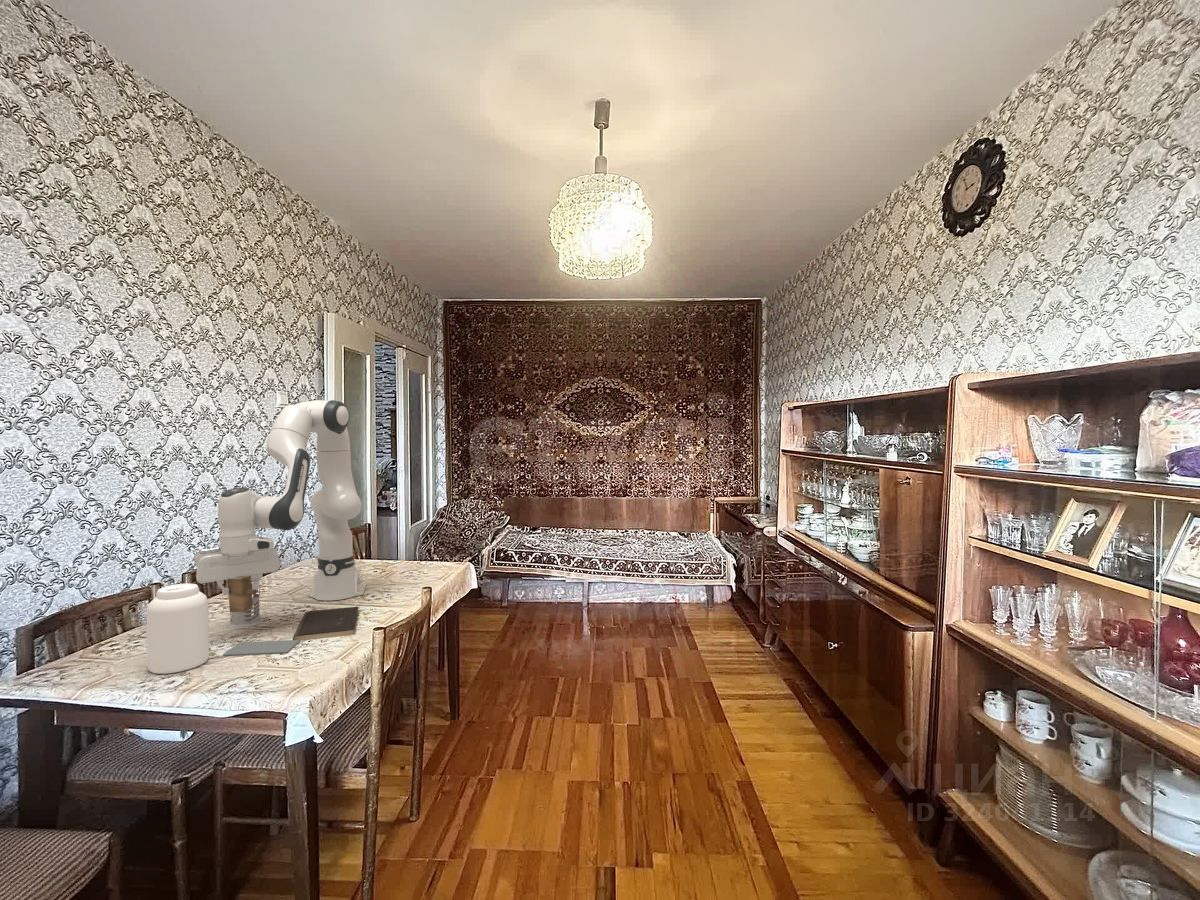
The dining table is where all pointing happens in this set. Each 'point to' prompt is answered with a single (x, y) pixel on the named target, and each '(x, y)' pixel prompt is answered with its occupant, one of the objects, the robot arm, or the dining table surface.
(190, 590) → the white lidded jar
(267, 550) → the robot arm
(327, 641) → the dining table surface
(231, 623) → the french press
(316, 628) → the hardcover book
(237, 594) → the walnut block
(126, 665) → the dining table surface
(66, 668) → the dining table surface
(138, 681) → the dining table surface
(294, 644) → the rubber mat
